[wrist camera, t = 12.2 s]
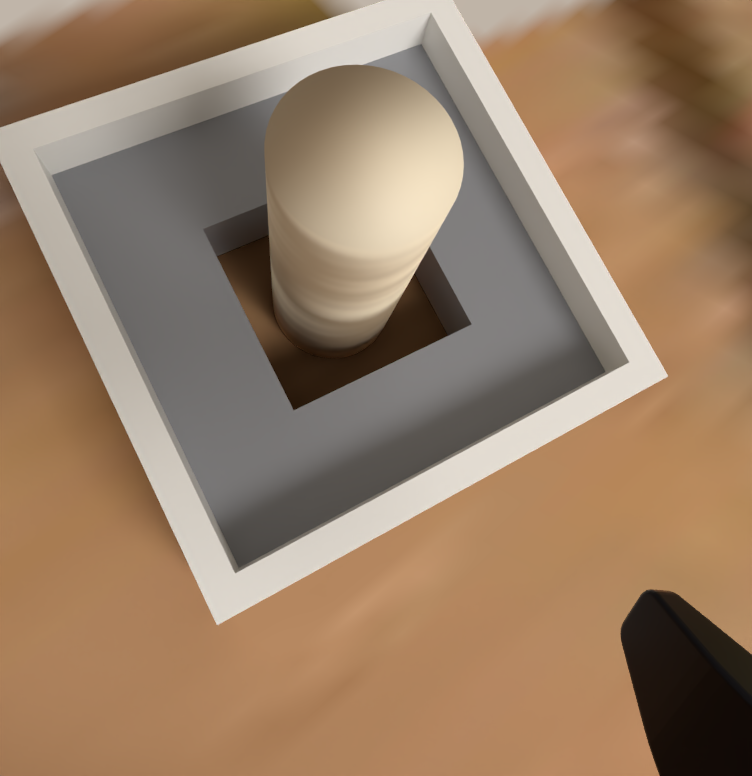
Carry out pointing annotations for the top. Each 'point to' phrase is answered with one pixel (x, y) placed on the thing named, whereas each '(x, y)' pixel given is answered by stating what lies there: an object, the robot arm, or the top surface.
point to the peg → (353, 201)
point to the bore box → (238, 340)
